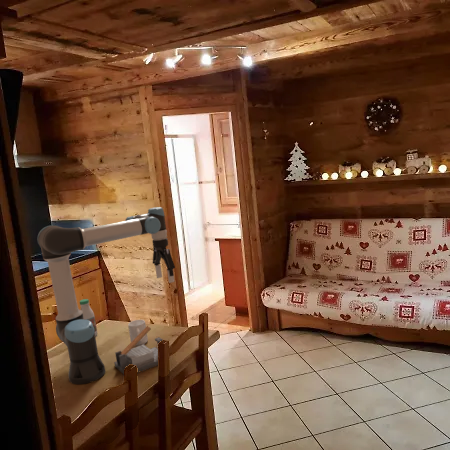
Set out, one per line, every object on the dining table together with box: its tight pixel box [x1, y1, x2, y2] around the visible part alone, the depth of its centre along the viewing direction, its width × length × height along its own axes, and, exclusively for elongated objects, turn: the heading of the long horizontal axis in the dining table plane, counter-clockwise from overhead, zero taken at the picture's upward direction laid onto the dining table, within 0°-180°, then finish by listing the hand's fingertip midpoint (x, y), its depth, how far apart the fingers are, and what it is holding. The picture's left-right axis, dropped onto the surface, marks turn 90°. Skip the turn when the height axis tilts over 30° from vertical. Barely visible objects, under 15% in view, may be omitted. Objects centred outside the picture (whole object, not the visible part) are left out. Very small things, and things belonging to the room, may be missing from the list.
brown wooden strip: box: [118, 325, 151, 357], centre depth 195 cm, size 18×3×1 cm
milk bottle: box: [79, 298, 98, 338], centre depth 235 cm, size 8×8×20 cm
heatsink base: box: [113, 337, 164, 375], centre depth 197 cm, size 21×14×8 cm
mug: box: [127, 319, 149, 347], centre depth 218 cm, size 12×8×10 cm
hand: (165, 279), depth 225 cm, fingers open, 13 cm apart
